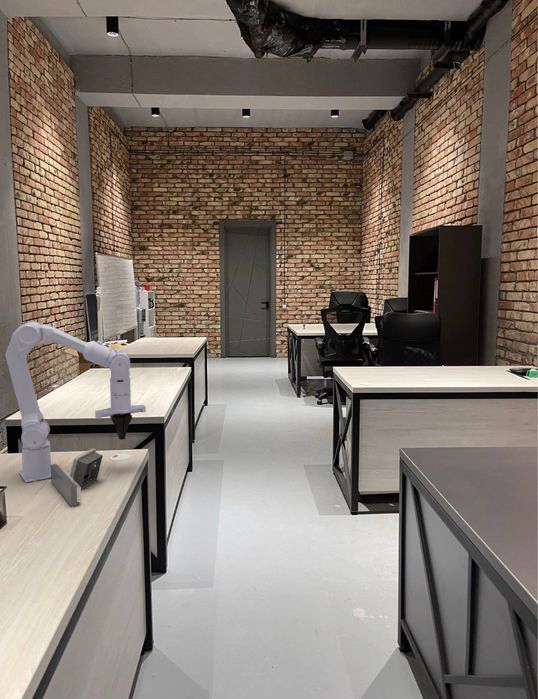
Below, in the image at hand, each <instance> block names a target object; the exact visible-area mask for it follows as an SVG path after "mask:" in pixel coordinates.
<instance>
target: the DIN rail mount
mask: <svg viewBox="0 0 538 699" xmlns="http://www.w3.org/2000/svg"><path fill="white" fill-rule="evenodd" d="M50 482H51V484H52V486H54V488H55V489H56V490H57V491H58V493H59V494H60V495H61V496H62V497H63V499H64V500H65V501H66V502H67V503H68V505H69V506H70V508H73V507H76V506H78V502H82V489H81V487H80V486H79V485H78V484H77V483H76V482H75V481H74V479H73V478H72V477H71V476H70V474H69V473H68V472H67V470H66V469H65V468H64V467H63V465H60V464H57V463H51V478H50ZM72 506H73V507H72Z"/></svg>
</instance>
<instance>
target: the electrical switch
mask: <svg viewBox="0 0 538 699" xmlns="http://www.w3.org/2000/svg"><path fill="white" fill-rule="evenodd" d="M96 451H97V449H96V448H93V447H91V448H90V449H88V450H86V451H84V452H83V453H81V454H78V455H77V456H75V457H74V458H73V460H72V466H71V470H70V474H69V475H70V476H71V477H72V478H73V479H74V481H75V482H76V483H77V484H78V485H79V486H80V487H81V490H82V488H83V487H84V488H86V487H88V486H89V485H91V484H92V483H94V482H96V481H97V479H98V476H99V473H100V469H101V464H102V460H103V454H100V453H98V452H96ZM93 481H94V482H93ZM90 483H91V484H90ZM87 485H88V486H87ZM85 486H86V487H85ZM84 488H83V489H84Z"/></svg>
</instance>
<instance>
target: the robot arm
mask: <svg viewBox="0 0 538 699" xmlns="http://www.w3.org/2000/svg"><path fill="white" fill-rule="evenodd" d="M40 342H41V344H42V345H43V344H44V345H45V344H52V343H53V344H54V343H55V344H58V345H60V346H63V347H66V348H69V349H70V350H73V351H76V352H79V353H81V354H82V356H83V358H84V360H86V361H89V362H91V363H93V364H96V365H98V366H101V367H103V368H105V369H106V368H109V371H110V378H109V386H110V389H109V391H110V392H109V394H110V396H109V397H110V407H107V408H105V409H104V408H103V409H99V410H95V411H94V414H95V415H94V416H95V419H101V418H108V417H109V418H110V420H111V421H112V423H113V426H114V427H115V430H116V434H117V439H119V440H125V439H126V436H127V431H128V428H129V426H130V423H131V421H132V420H133V415H132V414H137V413H146V409H147V408H146V405H145V404H135V405H132V400H131V398H132V396H131V395H132V394H131V391H132V390H131V377H130V376H131V372H130V370H131V369H130V368H131V365H132V364H131V359H130V357H129V356H128V355H127V354H126V353H125V352H123V351H121V350H120V351H119V350H118V349H117V348H115V347H114V349H113V348H111V347H108V346H106V345H104V344H103V342H102V341H100V340H97V341H95V340H91V341H89V342H86V341H83V340H82V339H79V338H77V337H75V336H73V335H71V334H69V333H66V332H65V331H62V330H61V329H58V328H56V327H53V326H51V325H48V324H42V323H41V322H38V321H35V320H33V321H32V320H31V321H28V322H26V323H23V324H20V326H19V327H17V328H16V329H15V331H14V332H13V333H12V334H11V339H10V341H9V344H8V346H7V348H6V351H5V360H6V364H7V367H8V371H9V375H10V378H11V379H10V380H11V382H12V387H13V390H14V394H15V396H16V397H15V398H16V401H17V404H18V408H19V412H20V416H21V421H20V422H21V429H22V431H21V432H22V433H21V438H20V439H21V443H22V450H21V462H22V470H19V471H18V473H19V475H20V476H21V478H22V479H23V481H24V482H25V483H29V482H35V481H40V480H45V479H51V465H52V460H51V454H52V453H51V442H50V440H48V438H47V437H48V436H49V434H50V431H51V427H50V426H49V425H50V424H49V423H48V422H47V421H46V420H45V419H44V418H45V417H44V415H43V412H42V411H41V410H40V406H39V402H38V398H37V395H36V394H37V393H36V391H35V386H34V383H33V380H32V377H31V376H32V375H31V372H30V369H29V365H28V361H27V356H28V355H29V353H30V352H31V351H32V349H33V347H35V346H36V345H38V344H39V343H40Z"/></svg>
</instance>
